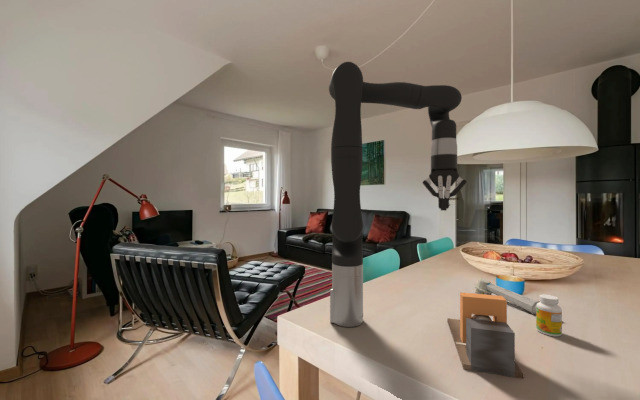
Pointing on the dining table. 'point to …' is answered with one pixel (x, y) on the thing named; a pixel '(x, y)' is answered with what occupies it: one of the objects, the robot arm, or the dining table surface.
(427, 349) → the dining table surface
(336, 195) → the robot arm
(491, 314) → the collar
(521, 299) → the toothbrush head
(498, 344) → the pipe stand
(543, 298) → the supplement bottle
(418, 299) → the dining table surface
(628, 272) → the dining table surface
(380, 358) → the dining table surface
